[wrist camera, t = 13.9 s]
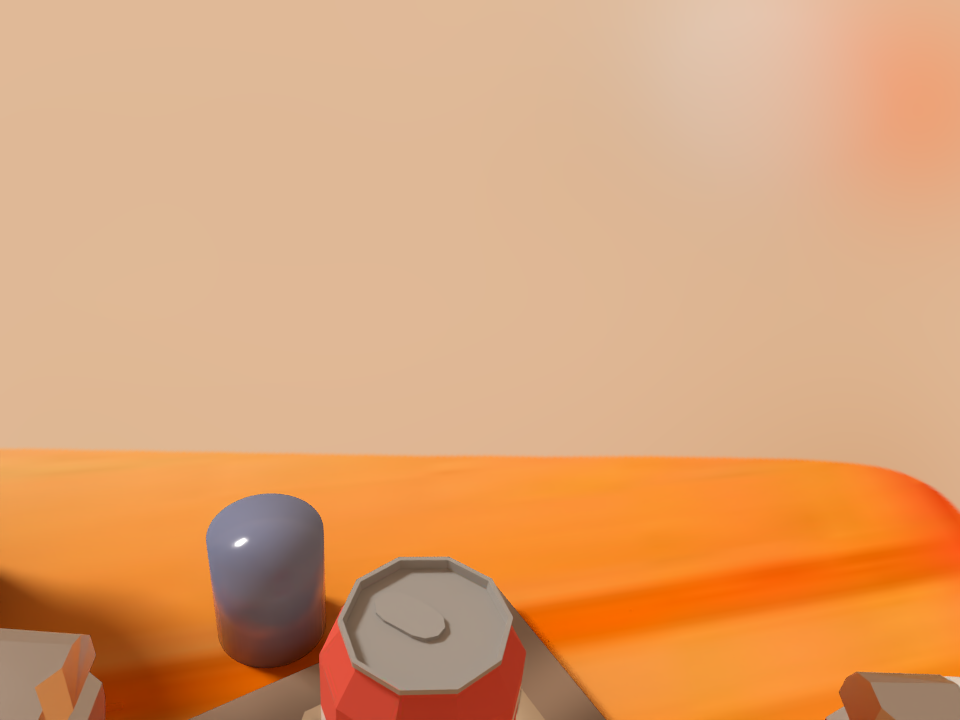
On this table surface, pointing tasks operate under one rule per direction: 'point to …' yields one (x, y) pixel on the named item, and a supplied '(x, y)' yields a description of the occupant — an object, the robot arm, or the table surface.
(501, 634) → the beverage can
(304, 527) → the lavender rounded cylinder
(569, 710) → the square plate with ring
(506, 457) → the table surface
